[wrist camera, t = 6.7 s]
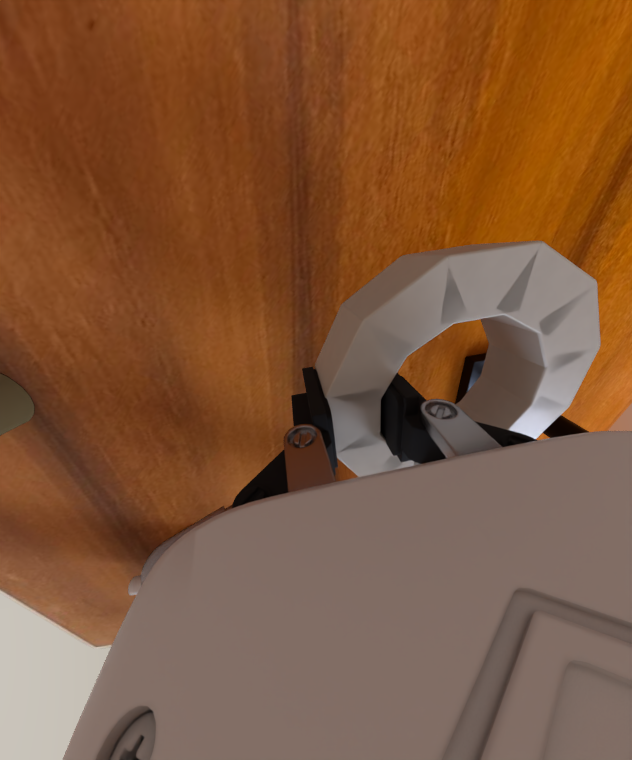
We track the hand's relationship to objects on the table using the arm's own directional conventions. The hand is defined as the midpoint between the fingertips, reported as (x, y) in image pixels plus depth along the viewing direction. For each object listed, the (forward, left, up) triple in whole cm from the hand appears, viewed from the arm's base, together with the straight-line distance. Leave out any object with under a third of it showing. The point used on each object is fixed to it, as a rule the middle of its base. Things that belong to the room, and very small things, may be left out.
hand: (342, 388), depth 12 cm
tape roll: (+4, 0, 0) cm, 5 cm away
